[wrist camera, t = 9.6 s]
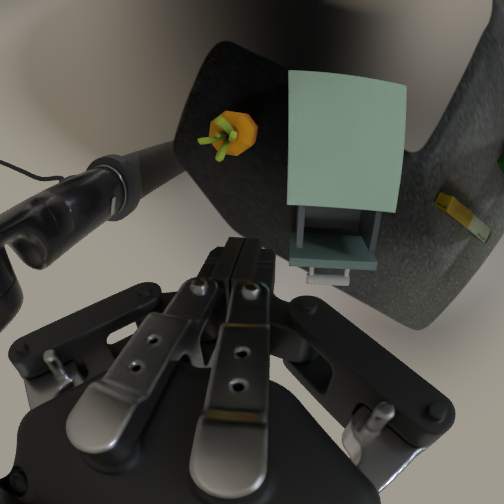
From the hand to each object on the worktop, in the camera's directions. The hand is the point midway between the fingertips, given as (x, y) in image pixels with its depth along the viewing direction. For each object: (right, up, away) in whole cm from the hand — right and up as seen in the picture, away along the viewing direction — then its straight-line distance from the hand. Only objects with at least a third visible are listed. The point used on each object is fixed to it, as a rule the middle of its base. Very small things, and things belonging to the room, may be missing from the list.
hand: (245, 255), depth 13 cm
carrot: (0, +17, +22) cm, 28 cm away
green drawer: (+12, +6, +25) cm, 28 cm away
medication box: (+34, +7, +22) cm, 41 cm away
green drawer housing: (+12, +16, +20) cm, 28 cm away
